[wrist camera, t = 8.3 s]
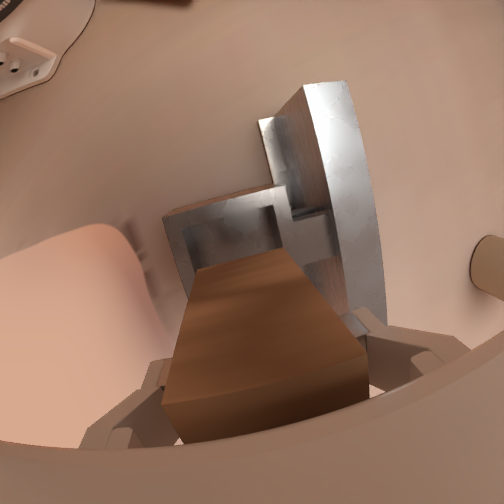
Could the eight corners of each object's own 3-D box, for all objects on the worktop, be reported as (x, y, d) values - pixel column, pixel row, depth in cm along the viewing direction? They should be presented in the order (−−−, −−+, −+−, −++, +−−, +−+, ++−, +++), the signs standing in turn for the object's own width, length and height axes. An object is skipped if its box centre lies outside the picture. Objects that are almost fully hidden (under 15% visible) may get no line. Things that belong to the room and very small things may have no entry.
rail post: (221, 343, 15) (223, 501, 6) (197, 269, 14) (161, 405, 5) (299, 323, 15) (369, 465, 6) (282, 247, 14) (367, 353, 5)
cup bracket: (221, 328, 33) (222, 399, 22) (167, 144, 28) (134, 126, 16) (350, 291, 34) (403, 343, 22) (314, 110, 29) (365, 78, 17)
